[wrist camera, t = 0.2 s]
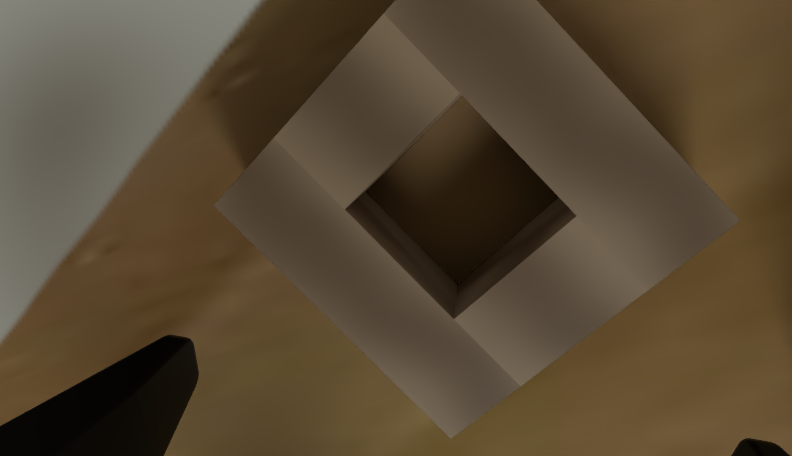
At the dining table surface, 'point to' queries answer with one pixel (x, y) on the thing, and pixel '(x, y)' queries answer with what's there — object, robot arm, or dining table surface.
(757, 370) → the dining table surface
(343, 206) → the socket block
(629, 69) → the dining table surface
